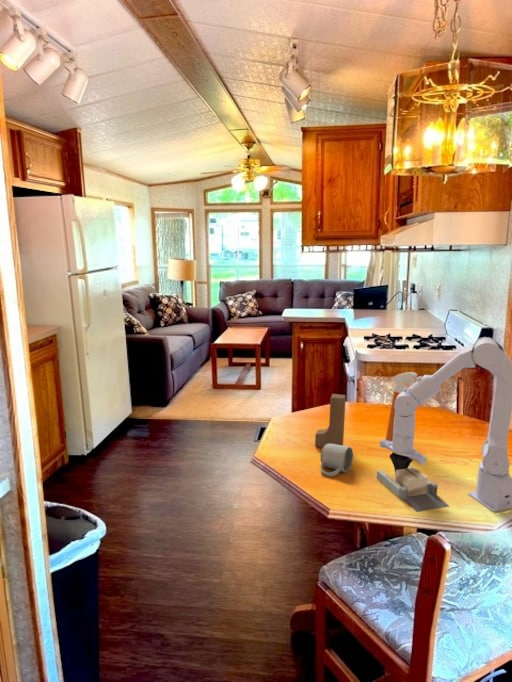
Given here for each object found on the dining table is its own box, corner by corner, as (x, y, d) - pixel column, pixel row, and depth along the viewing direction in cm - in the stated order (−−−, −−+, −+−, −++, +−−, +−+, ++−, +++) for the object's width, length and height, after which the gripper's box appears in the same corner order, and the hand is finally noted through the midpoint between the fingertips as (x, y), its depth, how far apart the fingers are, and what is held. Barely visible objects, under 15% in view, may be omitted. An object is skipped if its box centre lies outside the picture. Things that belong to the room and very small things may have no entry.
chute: (436, 495, 132) (437, 484, 131) (401, 500, 129) (402, 489, 128) (408, 473, 144) (409, 463, 143) (376, 478, 141) (377, 468, 140)
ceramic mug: (328, 460, 153) (329, 437, 151) (353, 466, 148) (354, 443, 147) (313, 473, 144) (314, 450, 142) (339, 481, 140) (340, 456, 138)
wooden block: (314, 446, 163) (316, 395, 159) (317, 441, 167) (319, 392, 163) (341, 450, 160) (344, 398, 156) (343, 444, 164) (345, 394, 161)
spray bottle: (410, 453, 158) (416, 376, 153) (381, 443, 166) (386, 369, 160) (420, 446, 163) (426, 372, 158) (391, 437, 171) (396, 366, 165)
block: (426, 493, 132) (427, 476, 131) (407, 496, 130) (408, 479, 129) (413, 483, 138) (414, 466, 137) (395, 486, 136) (396, 469, 135)
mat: (449, 506, 126) (449, 506, 126) (416, 512, 123) (416, 511, 123) (430, 491, 134) (430, 491, 134) (399, 496, 131) (399, 496, 131)
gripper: (434, 439, 133) (430, 484, 135) (391, 423, 144) (388, 465, 147) (418, 445, 129) (415, 491, 131) (376, 428, 140) (373, 471, 143)
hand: (400, 478), depth 139 cm, fingers closed
